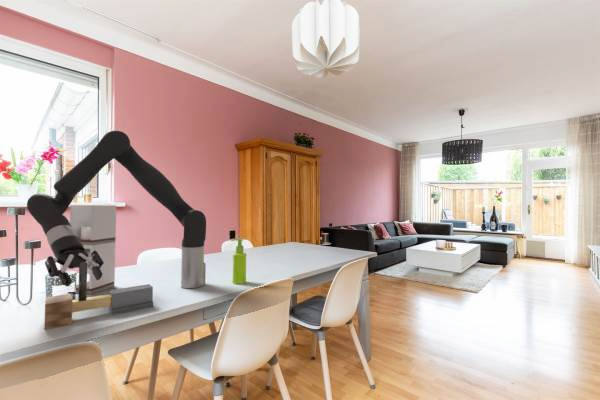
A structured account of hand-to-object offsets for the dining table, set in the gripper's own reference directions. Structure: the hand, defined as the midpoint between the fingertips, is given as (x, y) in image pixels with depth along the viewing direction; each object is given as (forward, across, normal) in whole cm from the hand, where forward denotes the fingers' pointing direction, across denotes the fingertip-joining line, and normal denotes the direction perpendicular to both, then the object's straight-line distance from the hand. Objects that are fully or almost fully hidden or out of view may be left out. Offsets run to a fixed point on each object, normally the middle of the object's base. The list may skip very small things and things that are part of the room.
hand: (85, 281), depth 88 cm
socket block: (+6, -5, +10) cm, 13 cm away
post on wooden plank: (+6, +3, +6) cm, 9 cm away
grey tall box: (-13, +20, +30) cm, 38 cm away
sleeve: (+11, +12, +5) cm, 17 cm away
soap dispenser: (+21, +54, -4) cm, 58 cm away
